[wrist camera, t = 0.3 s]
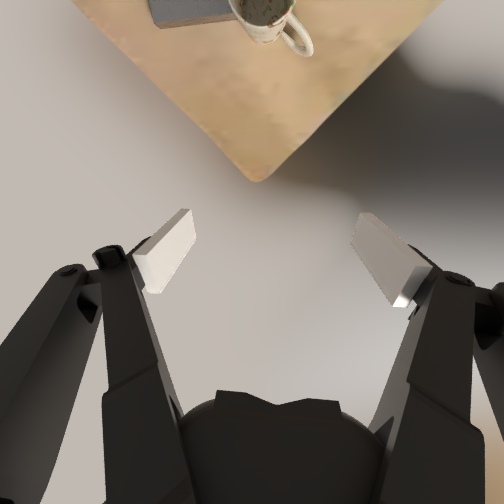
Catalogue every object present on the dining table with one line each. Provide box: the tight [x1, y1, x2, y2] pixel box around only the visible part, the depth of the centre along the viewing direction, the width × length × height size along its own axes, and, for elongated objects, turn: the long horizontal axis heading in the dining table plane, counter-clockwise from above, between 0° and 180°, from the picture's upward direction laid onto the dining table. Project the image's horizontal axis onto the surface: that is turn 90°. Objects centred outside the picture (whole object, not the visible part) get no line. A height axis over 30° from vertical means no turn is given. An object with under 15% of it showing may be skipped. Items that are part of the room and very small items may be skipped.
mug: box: [228, 0, 314, 57], centre depth 24 cm, size 8×13×10 cm, turn 54°
